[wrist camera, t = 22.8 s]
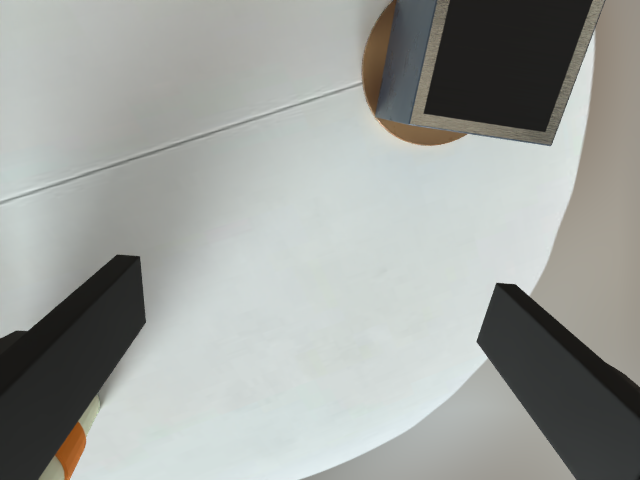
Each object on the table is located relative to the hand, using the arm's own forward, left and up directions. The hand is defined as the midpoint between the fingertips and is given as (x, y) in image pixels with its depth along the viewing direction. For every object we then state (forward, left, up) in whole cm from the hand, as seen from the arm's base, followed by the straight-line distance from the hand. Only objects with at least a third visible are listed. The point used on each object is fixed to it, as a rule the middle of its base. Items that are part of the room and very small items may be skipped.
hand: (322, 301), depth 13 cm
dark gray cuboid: (+2, +12, -18) cm, 22 cm away
